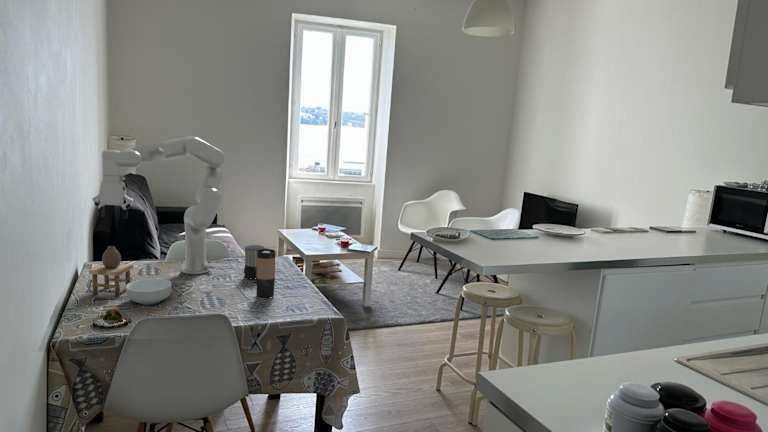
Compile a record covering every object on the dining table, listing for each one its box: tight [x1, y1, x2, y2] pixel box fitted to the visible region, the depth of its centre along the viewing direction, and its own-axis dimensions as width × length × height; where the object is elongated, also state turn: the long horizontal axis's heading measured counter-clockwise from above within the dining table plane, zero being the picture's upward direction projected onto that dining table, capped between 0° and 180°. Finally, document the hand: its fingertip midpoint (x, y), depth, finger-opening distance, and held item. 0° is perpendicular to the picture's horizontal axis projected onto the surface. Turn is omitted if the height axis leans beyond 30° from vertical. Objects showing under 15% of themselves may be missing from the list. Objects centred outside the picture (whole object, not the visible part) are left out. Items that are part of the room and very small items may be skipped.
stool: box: [88, 263, 134, 298], centre depth 222 cm, size 12×12×10 cm
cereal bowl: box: [125, 278, 172, 305], centre depth 214 cm, size 17×17×7 cm
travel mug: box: [255, 248, 276, 299], centre depth 228 cm, size 8×8×20 cm
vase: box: [101, 245, 122, 269], centre depth 221 cm, size 7×7×9 cm
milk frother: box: [243, 244, 268, 280], centre depth 259 cm, size 14×16×15 cm
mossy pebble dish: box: [92, 306, 131, 328], centre depth 190 cm, size 12×12×8 cm
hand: (113, 217), depth 235 cm, fingers open, 9 cm apart
